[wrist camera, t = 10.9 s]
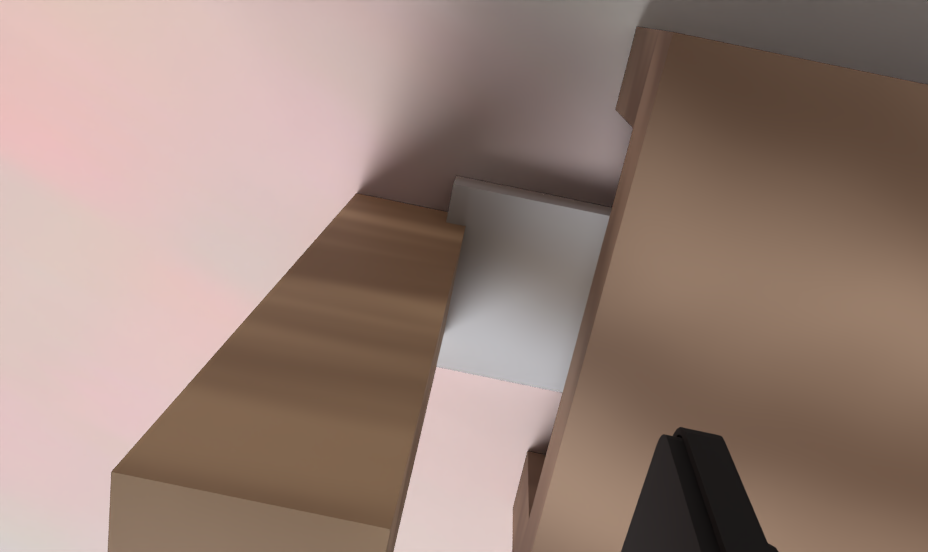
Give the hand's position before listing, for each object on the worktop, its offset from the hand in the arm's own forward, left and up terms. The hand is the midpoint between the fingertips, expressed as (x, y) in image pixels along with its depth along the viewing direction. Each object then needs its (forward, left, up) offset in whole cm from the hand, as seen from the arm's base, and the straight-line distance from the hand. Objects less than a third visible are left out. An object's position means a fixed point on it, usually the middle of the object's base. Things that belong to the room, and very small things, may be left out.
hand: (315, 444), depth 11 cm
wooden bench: (+1, +9, -11) cm, 14 cm away
